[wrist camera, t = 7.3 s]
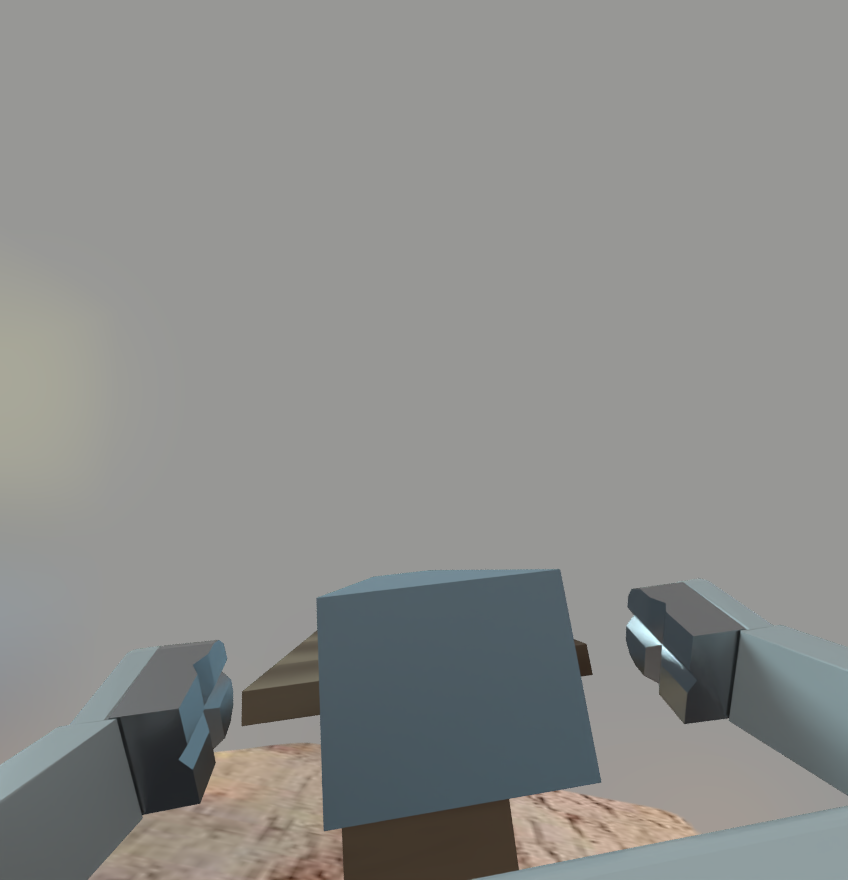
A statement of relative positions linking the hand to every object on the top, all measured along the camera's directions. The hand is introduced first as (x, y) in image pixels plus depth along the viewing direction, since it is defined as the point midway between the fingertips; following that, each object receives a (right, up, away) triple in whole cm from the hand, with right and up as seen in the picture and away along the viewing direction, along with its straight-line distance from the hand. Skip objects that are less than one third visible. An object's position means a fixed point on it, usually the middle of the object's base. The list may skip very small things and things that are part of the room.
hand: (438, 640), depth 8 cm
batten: (-1, -5, +9) cm, 10 cm away
